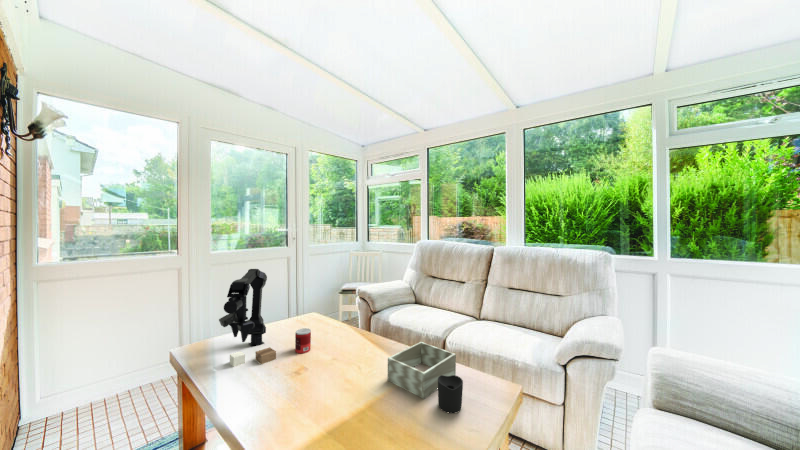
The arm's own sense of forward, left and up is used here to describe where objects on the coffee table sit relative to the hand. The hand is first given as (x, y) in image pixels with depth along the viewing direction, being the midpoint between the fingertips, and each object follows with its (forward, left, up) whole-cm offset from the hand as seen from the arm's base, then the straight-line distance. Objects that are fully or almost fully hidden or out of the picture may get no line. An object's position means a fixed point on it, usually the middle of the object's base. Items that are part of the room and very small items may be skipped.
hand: (239, 339), depth 141 cm
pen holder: (+93, +41, -12) cm, 102 cm away
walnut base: (+6, +10, -12) cm, 16 cm away
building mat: (+6, +10, -12) cm, 17 cm away
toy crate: (+73, +50, -12) cm, 89 cm away
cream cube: (0, -1, -12) cm, 12 cm away
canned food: (+10, +28, -12) cm, 32 cm away
